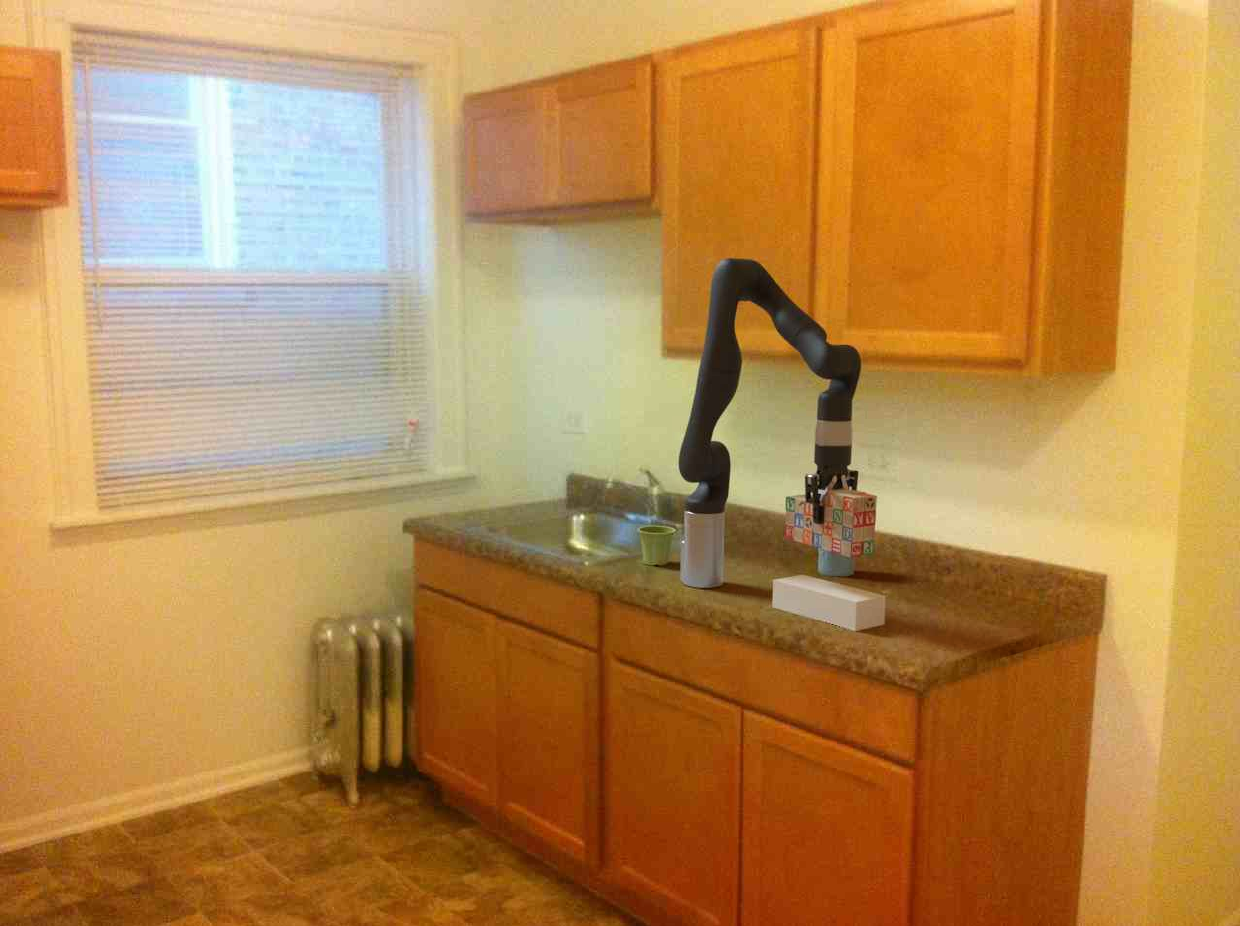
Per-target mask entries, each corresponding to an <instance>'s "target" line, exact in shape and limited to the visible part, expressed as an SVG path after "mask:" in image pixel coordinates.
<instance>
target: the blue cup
mask: <svg viewBox="0 0 1240 926" xmlns="http://www.w3.org/2000/svg"><path fill="white" fill-rule="evenodd" d="M817 548H818V547H817ZM817 552H818V560H817V561H818V562H817V565H818V566H817V567H818V569H817V570H818V573H819V574H821V575H823V576H829V577H838V578H839V576H840V577H841V576H842V577H851V576H853V575H854V573H855V567H856V566H855V565H856V557H848V556H844V555H841V554H838V553H835V552H832V551H828V550H825V549H822V548H818V550H817ZM850 575H851V576H850Z"/></svg>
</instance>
